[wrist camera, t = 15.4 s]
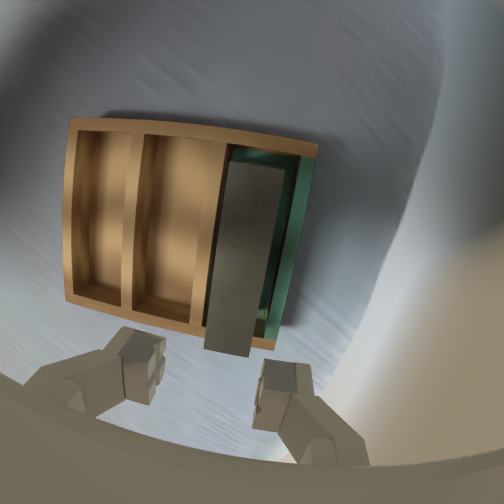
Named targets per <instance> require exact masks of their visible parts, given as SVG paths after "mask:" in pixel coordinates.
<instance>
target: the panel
mask: <svg viewBox="0 0 504 504" xmlns="http://www.w3.org/2000/svg"><path fill="white" fill-rule="evenodd" d="M284 174H285V170H284V168H283V166H278V165H272V164H267V163H261V162H255V161H249V160H235V161H230V163H229V169H228V175H227V182H226V188H225V194H224V201H223V207H222V214H221V221H220V227H219V234H218V241H217V248H216V255H215V263H214V270H213V277H212V285H211V293H210V300H209V308H208V316H207V325H206V333H205V342H204V349H207V350H212V351H216V352H221V353H226V354H232V355H237V356H242V357H249V352H250V347H251V343H252V338H253V333H254V328H255V323H256V318H257V313H258V308H259V303H260V298H261V293H262V288H263V283H264V278H265V273H266V268H267V263H268V258H269V253H270V248H271V243H272V237H273V232H274V227H275V222H276V217H277V211H278V206H279V201H280V195H281V190H282V185H283V179H284Z"/></svg>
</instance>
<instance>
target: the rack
mask: <svg viewBox="0 0 504 504" xmlns="http://www.w3.org/2000/svg"><path fill="white" fill-rule="evenodd" d="M318 146H319V144H315V143H311V142H306V141H301V140H296V139H291V138H285V137H280V136H274V135H269V134H263V133H257V132H251V131H244V130H237V129H230V128H223V127H215V126H207V125H198V124H189V123H179V122H168V121H155V120H140V119H119V118H70V123H69V131H68V139H67V148H66V158H65V170H64V185H63V210H62V245H63V271H64V286H65V298H66V301H67V302H70V303H73V304H77V305H80V306H83V307H86V308H90V309H93V310H96V311H100V312H103V313H107V314H110V315H114V316H117V317H121V318H125V319H128V320H132V321H136V322H140V323H144V324H147V325H151V326H155V327H160V328H164V329H168V330H172V331H176V332H181V333H185V334H189V335H194V336H199V337H203V338H205V333H206V325H207V316H208V308H209V300H210V293H211V285H212V277H213V270H214V263H215V255H216V248H217V241H218V234H219V227H220V221H221V214H222V207H223V201H224V194H225V188H226V182H227V175H228V169H229V163H230V161H235V160H249V161H255V162H261V163H267V164H272V165H278V166H283V168H284V170H285V174H284V179H283V185H282V190H281V195H280V201H279V206H278V211H277V217H276V222H275V227H274V232H273V237H272V243H271V248H270V253H269V258H268V263H267V268H266V273H265V278H264V283H263V288H262V293H261V298H260V303H259V308H258V313H257V318H256V323H255V328H254V333H253V338H252V343H251V347H255V348H260V349H266V350H272V351H274V348H275V344H276V340H277V336H278V332H279V328H280V324H281V319H282V315H283V311H284V307H285V303H286V299H287V294H288V290H289V286H290V281H291V277H292V273H293V268H294V264H295V259H296V255H297V250H298V246H299V241H300V236H301V232H302V227H303V222H304V217H305V213H306V208H307V203H308V198H309V193H310V188H311V183H312V178H313V172H314V167H315V162H316V157H317V151H318Z"/></svg>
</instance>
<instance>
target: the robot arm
mask: <svg viewBox="0 0 504 504" xmlns="http://www.w3.org/2000/svg"><path fill="white" fill-rule="evenodd" d="M165 349H166V339H165V337H161V336H157V335H154V334H150V333H146V332H143V331H139V330H136V329H132V328H129V327H125V326H124V327H122V328H121V329H120V330H119V331H118V332H117V333H116V335H115V336H114V337H113V338H112V339H111V341H110V342H109V343H108V344H107V345H106V347H105V348H104V349H103V350H99V349H98V350H95V351H91V352H88V353H85V354H82V355H79V356H75V357H72V358H69V359H65V360H62V361H59V362H55V363H52V364H49V365H45V366H42V367H40V368H39V370H38V371H37V372H36V373H35V374H34V375H33V376H32V377H31V378H30V379H29V380H28V381H27V382H26V383H25V384H24V385H22V384H20V383H18V382H17V381H15V380H13V379H11V378H9V377H8V376H6V375H4V374H2V373H1V372H0V504H504V448H500V449H497V450H492V451H488V452H484V453H479V454H474V455H469V456H463V457H457V458H451V459H444V460H438V461H429V462H421V463H410V464H398V465H379V466H370V463H369V459H368V454H367V450H366V446H365V441H364V439H363V438H362V437H361V436H360V435H359V434H358V433H357V432H356V431H354V430H353V429H352V428H351V427H350V426H349V425H348V424H347V423H346V422H345V421H344V420H343V419H342V418H341V417H340V416H339V415H337V414H336V413H335V412H334V411H333V410H332V409H331V408H330V407H329V406H328V405H327V404H326V403H325V402H324V401H323V400H322V399H321V398H320V397H319V396H314V388H313V380H312V373H311V366H310V365H309V364H304V363H295V362H294V363H292V362H285V361H278V360H271V359H265V358H264V361H263V365H262V369H261V377H260V378H259V381H258V385H257V390H256V396H255V404H254V405H255V410H254V414H253V423H252V428H253V429H259V430H265V431H271V432H277V433H278V435H279V436H280V438H281V439H282V441H283V442H284V444H285V445H286V447H287V449H288V450H289V452H290V453H291V454H292V456H293V457H294V459H295V461H296V462H297V464H293V463H282V462H273V461H265V460H257V459H250V458H243V457H237V456H231V455H226V454H220V453H215V452H210V451H205V450H201V449H196V448H192V447H188V446H183V445H179V444H175V443H172V442H168V441H164V440H161V439H157V438H154V437H150V436H147V435H143V434H140V433H137V432H134V431H131V430H128V429H125V428H122V427H119V426H116V425H113V424H110V423H107V422H105V421H102V420H99V419H97V418H95V417H96V416H98V415H100V414H102V413H103V412H105V411H107V410H109V409H110V408H112V407H114V406H116V405H117V404H119V403H121V402H123V401H124V400H125V399H127V400H131V401H134V402H138V403H142V404H145V405H150V403H151V401H152V399H153V397H154V395H155V393H156V390H155V386H157V385H159V384H160V382H161V380H162V377H163V374H164V370H165V357H164V356H163V353H164V351H165Z"/></svg>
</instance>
